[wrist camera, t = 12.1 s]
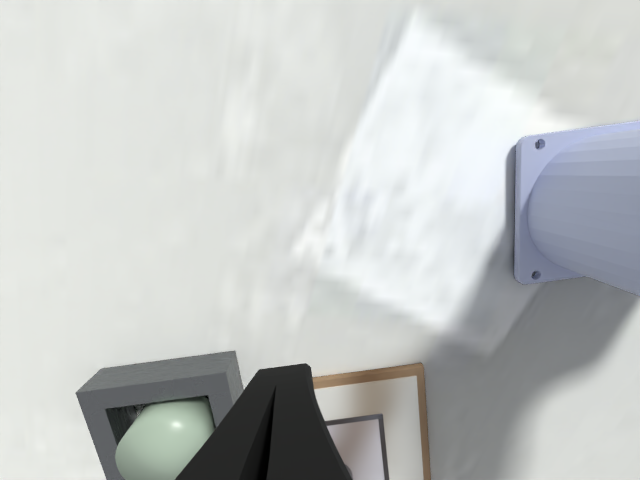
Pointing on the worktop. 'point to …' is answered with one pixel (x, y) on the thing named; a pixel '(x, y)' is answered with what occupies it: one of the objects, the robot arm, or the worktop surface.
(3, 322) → the worktop surface
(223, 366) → the button housing
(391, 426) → the wooden framed board
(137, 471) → the button
